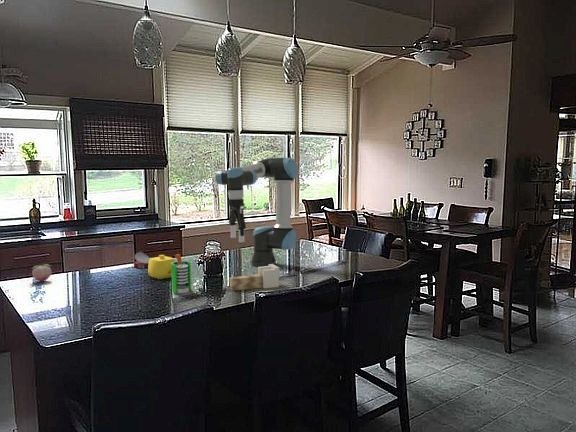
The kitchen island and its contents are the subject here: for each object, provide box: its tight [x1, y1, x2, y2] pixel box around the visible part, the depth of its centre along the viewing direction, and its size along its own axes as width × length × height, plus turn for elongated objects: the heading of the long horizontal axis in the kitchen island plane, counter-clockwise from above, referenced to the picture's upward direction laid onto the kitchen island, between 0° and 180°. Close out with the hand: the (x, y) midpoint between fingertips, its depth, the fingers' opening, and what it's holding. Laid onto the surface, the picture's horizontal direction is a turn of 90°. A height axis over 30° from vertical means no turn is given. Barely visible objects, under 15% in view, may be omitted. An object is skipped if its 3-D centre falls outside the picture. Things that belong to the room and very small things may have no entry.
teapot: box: [147, 254, 176, 280], centre depth 263 cm, size 20×12×12 cm, turn 45°
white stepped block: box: [257, 264, 280, 289], centre depth 242 cm, size 9×8×10 cm
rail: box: [229, 274, 263, 292], centre depth 239 cm, size 20×4×6 cm, turn 111°
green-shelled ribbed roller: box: [171, 253, 192, 294], centre depth 232 cm, size 9×8×18 cm
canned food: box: [133, 251, 151, 269], centre depth 288 cm, size 11×10×10 cm
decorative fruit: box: [31, 263, 52, 282], centre depth 253 cm, size 9×8×10 cm
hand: (237, 239), depth 243 cm, fingers open, 13 cm apart
